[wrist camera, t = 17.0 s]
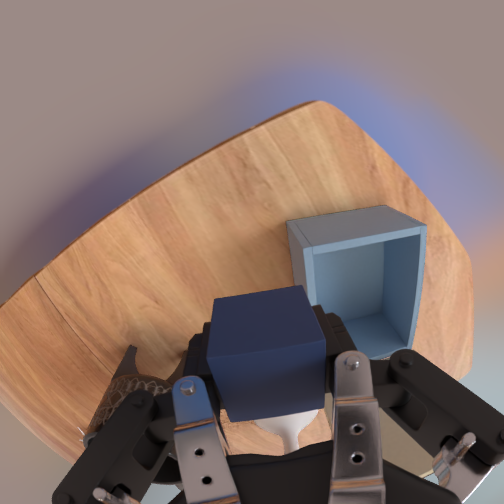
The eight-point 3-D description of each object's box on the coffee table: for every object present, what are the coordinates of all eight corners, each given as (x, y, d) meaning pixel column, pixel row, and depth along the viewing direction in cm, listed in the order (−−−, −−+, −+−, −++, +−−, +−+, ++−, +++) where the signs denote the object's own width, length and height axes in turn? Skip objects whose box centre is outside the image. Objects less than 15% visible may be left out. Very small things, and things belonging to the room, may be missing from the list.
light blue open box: (285, 221, 31) (302, 248, 23) (385, 204, 31) (427, 225, 22) (299, 332, 36) (313, 377, 28) (383, 312, 36) (411, 349, 28)
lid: (355, 500, 12) (350, 521, 13) (493, 432, 11) (474, 464, 12) (314, 377, 28) (316, 408, 29) (413, 348, 28) (409, 380, 28)
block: (213, 298, 12) (205, 358, 9) (302, 284, 12) (326, 339, 9) (231, 362, 14) (230, 423, 10) (306, 350, 14) (324, 408, 10)
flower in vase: (266, 428, 45) (278, 544, 22) (239, 397, 41) (244, 539, 18) (332, 405, 43) (367, 523, 20) (315, 371, 40) (358, 517, 16)
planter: (169, 316, 35) (133, 428, 18) (222, 377, 39) (218, 480, 23) (107, 346, 37) (63, 436, 20) (159, 398, 41) (139, 486, 24)
